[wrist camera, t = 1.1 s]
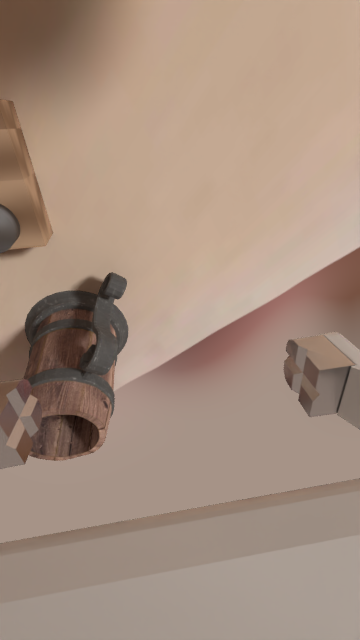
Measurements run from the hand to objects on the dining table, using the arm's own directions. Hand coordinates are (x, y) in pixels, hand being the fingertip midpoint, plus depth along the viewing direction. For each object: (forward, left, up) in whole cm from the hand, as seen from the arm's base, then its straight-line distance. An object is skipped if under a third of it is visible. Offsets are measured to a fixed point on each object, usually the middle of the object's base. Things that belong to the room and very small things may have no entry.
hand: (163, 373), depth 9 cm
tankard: (+20, -10, -34) cm, 41 cm away
